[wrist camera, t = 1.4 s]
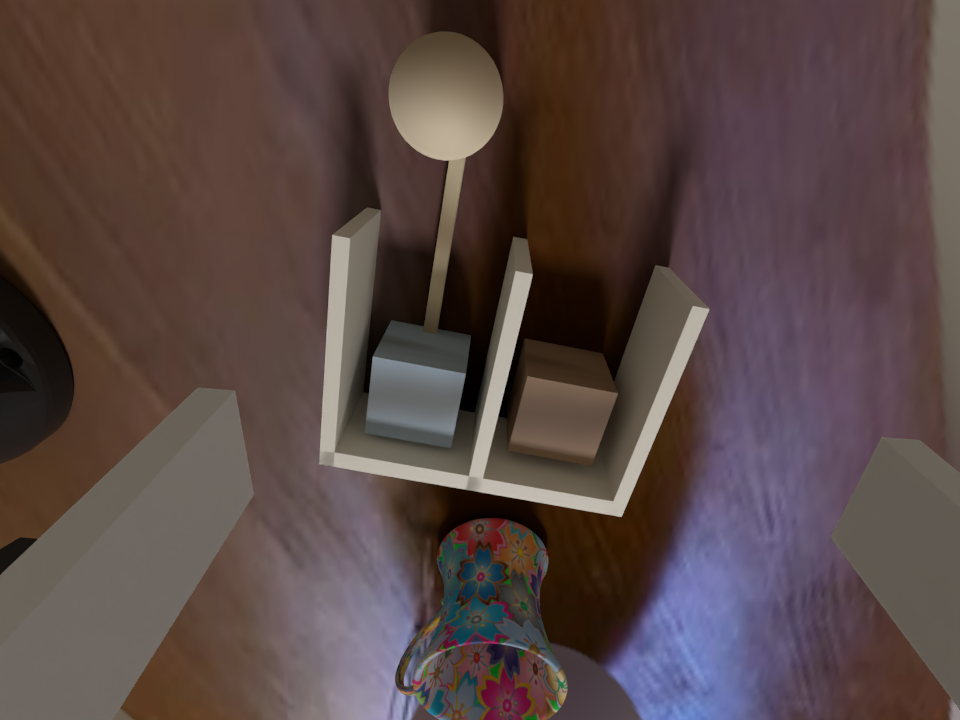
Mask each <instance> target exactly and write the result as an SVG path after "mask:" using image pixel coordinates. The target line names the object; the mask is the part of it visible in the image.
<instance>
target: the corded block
mask: <svg viewBox="0 0 960 720" xmlns="http://www.w3.org/2000/svg"><path fill="white" fill-rule="evenodd" d="M389 105H390V110H391V114H392V117H393V120H394V122H395V124H396V127H397V129H398V130H399V132H400V134H401V135H402V136H403V138H404V139H405V140H406V141H407V142H408V143H409V144H410V145H411V146H412V147H413V148H414V149H416V150H417V151H418V152H420V153H422V154H423V155H426V156H428V157H430V158H434V159H438V160H449V164H448V171H447V178H446V184H445V191H444V197H443V204H442V211H441V217H440V224H439V230H438V237H437V244H436V250H435V257H434V263H433V270H432V277H431V283H430V290H429V296H428V303H427V310H426V316H425V323H424V326H420V325H414V324H409V323H404V322H398V321H393V320H391V322H390V324H389V326H388V328H387V329H386V331H385V333H384V335H383V337H382V339H381V341H380V343H379V345H378V347H377V349H376V351H375V353H374V355H373V359H372V369H371V379H370V388H369V398H368V407H367V417H366V426H365V433H368V434H373V435H379V436H384V437H390V438H396V439H401V440H407V441H412V442H418V443H424V444H429V445H435V446H440V447H446V448H451V445H452V440H453V435H454V430H455V425H456V420H457V415H458V410H459V406H460V401H461V396H462V391H463V386H464V381H465V376H466V369H467V362H468V355H469V347H470V340H471V335H467V334H462V333H456V332H451V331H446V330H441V329H438V324H439V318H440V312H441V306H442V300H443V294H444V288H445V282H446V276H447V270H448V264H449V258H450V252H451V246H452V240H453V234H454V228H455V222H456V216H457V210H458V203H459V197H460V191H461V185H462V179H463V173H464V167H465V161H466V157H467V156H469V155H472V154H473V153H475V152H477V151H478V150H479V149H481V148H482V147H483V146H484V145H485V144H486V143H487V142H488V141H489V139H490V138H491V137H492V135H493V134H494V132H495V130H496V128H497V126H498V123H499V121H500V118H501V114H502V108H503V87H502V82H501V78H500V75H499V72H498V69H497V67H496V65H495V63H494V61H493V60H492V58H491V57H490V55H489V54H488V53H487V52H486V51H485V49H484V48H483V47H481V46H480V45H479V44H478V43H477V42H475V41H474V40H472V39H471V38H469V37H467V36H464V35H462V34H459V33H455V32H448V31H443V32H434V33H430V34H427V35H424V36H422V37H420V38H418V39H417V40H415V41H414V42H413V43H411V44H410V45H409V46H408V47H407V48H406V49H405V50H404V51H403V53H402V54H401V55H400V57H399V58H398V60H397V62H396V64H395V66H394V69H393V71H392V75H391V78H390V84H389Z"/></svg>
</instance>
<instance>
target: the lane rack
mask: <svg viewBox="0 0 960 720" xmlns="http://www.w3.org/2000/svg"><path fill="white" fill-rule="evenodd" d="M380 218H381V210H378V209H373V208H368V207H367V208H366V209H364V210H363V211H362V212H360V213H359V214H358V215H357V216H355V217H354V218H353V219H352V220H350V221H349V222H348V223H347V224H345V225H344V226H343V227H342V228H340V229H339V230H338V231H337V232H335V233H334V234H333V235H332V248H331V266H330V283H329V301H328V319H327V336H326V354H325V372H324V389H323V407H322V424H321V442H320V460H319V464H322V465H327V466H333V467H339V468H344V469H350V470H356V471H362V472H367V473H373V474H379V475H385V476H390V477H396V478H402V479H407V480H413V481H419V482H425V483H430V484H436V485H442V486H447V487H453V488H459V489H465V490H470V491H476V492H482V493H487V494H493V495H499V496H505V497H510V498H516V499H522V500H528V501H533V502H539V503H545V504H550V505H556V506H562V507H568V508H573V509H579V510H585V511H590V512H596V513H602V514H608V515H613V516H619V517H622V515H623V512H624V510H625V508H626V505H627V503H628V501H629V498H630V496H631V494H632V491H633V489H634V486H635V484H636V482H637V479H638V477H639V475H640V472H641V470H642V468H643V465H644V463H645V460H646V458H647V456H648V453H649V451H650V449H651V446H652V444H653V442H654V439H655V437H656V434H657V432H658V430H659V427H660V425H661V423H662V420H663V418H664V416H665V413H666V411H667V408H668V406H669V404H670V401H671V399H672V397H673V394H674V392H675V390H676V387H677V385H678V382H679V380H680V378H681V375H682V373H683V371H684V368H685V366H686V364H687V361H688V359H689V356H690V354H691V352H692V349H693V347H694V345H695V342H696V340H697V338H698V335H699V333H700V331H701V328H702V326H703V323H704V321H705V319H706V316H707V314H708V312H709V308H708V307H707V306H706V305H705V304H704V303H703V302H702V301H701V300H700V299H699V298H698V297H697V296H696V295H695V294H694V293H693V292H692V291H691V290H690V289H689V288H688V287H687V286H686V285H685V284H684V283H683V282H682V281H681V280H680V278H679V277H678V276H677V275H676V274H675V273H674V272H673V271H672V270H671V269H670V268H668V267H663V266H658V265H655V268H654V270H653V273H652V276H651V279H650V282H649V284H648V287H647V290H646V293H645V296H644V298H643V301H642V304H641V307H640V310H639V313H638V315H637V318H636V321H635V324H634V327H633V329H632V332H631V335H630V338H629V341H628V343H627V346H626V349H625V352H624V355H623V357H622V360H621V363H620V366H619V369H618V371H617V374H616V377H615V380H614V384H615V386H616V389H617V392H618V395H617V398H616V401H615V404H614V406H613V409H612V412H611V414H610V417H609V420H608V423H607V425H606V428H605V431H604V434H603V436H602V439H601V442H600V444H599V447H598V450H597V453H596V455H595V458H594V461H593V464H592V466H589V465H584V464H578V463H573V462H568V461H562V460H557V459H551V458H546V457H540V456H535V455H529V454H524V453H518V452H513V451H508V436H507V418H502V417H498V415H499V411H500V407H501V403H502V399H503V395H504V391H505V386H506V382H507V378H508V374H509V370H510V366H511V362H512V358H513V354H514V350H515V346H516V342H517V338H518V333H519V329H520V325H521V321H522V317H523V313H524V309H525V305H526V301H527V297H528V293H529V289H530V285H531V281H532V276H533V271H532V265H531V259H530V253H529V248H528V242H527V239H523V238H518V237H513V240H512V245H511V249H510V254H509V258H508V263H507V267H506V272H505V276H504V281H503V286H502V290H501V295H500V299H499V304H498V308H497V313H496V317H495V322H494V327H493V331H492V336H491V340H490V345H489V349H488V354H487V358H486V363H485V368H484V372H483V377H482V381H481V386H480V390H479V395H478V399H477V404H476V409H475V412H469V411H464V410H458V415H457V420H456V425H455V430H454V435H453V440H452V445H451V448H446V447H440V446H435V445H429V444H424V443H418V442H412V441H407V440H401V439H396V438H390V437H384V436H379V435H373V434H368V433H365V426H366V417H367V407H368V398H369V393H365V392H363V391H364V381H365V371H366V360H367V350H368V340H369V330H370V320H371V310H372V300H373V289H374V279H375V269H376V259H377V249H378V239H379V229H380Z"/></svg>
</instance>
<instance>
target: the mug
mask: <svg viewBox="0 0 960 720" xmlns="http://www.w3.org/2000/svg"><path fill="white" fill-rule="evenodd" d="M437 562H438V567H439V570H440V572H441V574H442V577H443V581H444V598H442V599H441V603H442V604H443V609H442V610H441V611H440V612H439V613H437V614H436V615H435V616H434V617H433V618H432V619H431V620H430V621H429V622H428V623H427V624H426V625H425V626H424V627H423V628H422V629H421V630H420V631H419V632H418V634H417V635H416V636H415V638H414V639H413V640H412V642H411V643H410V645H409V646H408V648H407V649H406V651H405V653H404V655H403V656H402V658H401V660H400V663H399V665H398V668H397V671H396V676H395V683H396V686H397V688H398V690H399V691H400V692H401V693H403V694H404V695H407V696H415V695H416V697H417V699H418V701H419V702H420V704H421V705H422V706H423V707H424V708H425V709H426V710H427V711H428V712H429V713H430V714H432V715H433V716H435V717H436V718H438V719H439V720H547V719H548V718H550V717H551V716H552V715H553V714H555V713H556V712H557V711H558V710H559V709H560V707H561V706H562V704H563V702H564V700H565V698H566V694H567V679H566V676H565V673H564V671H563V669H562V667H561V666H560V664H559V662H558V660H557V658H556V657H555V655H554V653H553V651H552V648H551V646H550V644H549V641H548V639H547V636H546V633H545V630H544V627H543V623H542V618H541V613H540V604H539V595H540V586H541V582H542V580H543V578H544V576H545V574H546V571H547V567H548V554H547V551H546V548H545V546H544V544H543V542H542V541H541V539H540V538H539V537H538V536H537V535H536V534H535V533H534V532H532V531H531V530H530V529H528V528H527V527H525V526H523V525H521V524H519V523H517V522H514V521H510V520H506V519H501V518H482V519H476V520H472V521H469V522H466V523H464V524H461V525H460V526H458V527H456V528H455V529H453V530H452V531H451V532H450V533H448V534H447V536H446V537H445V538H444V539H443V541H442V543H441V545H440V547H439V550H438V555H437ZM436 627H437V629H436V631H435V634H434V636H433V638H432V640H431V642H430V644H429V646H428V648H427V649H426V651H425V653H424V654H423V656H422V657H421V659H420V660H419V662H418V664H417V665H416V668H415V670H414V674H413V681H412V682H413V686H410V687H406V686H404V675H405V672H406V669H407V667H408V665H409V663H410V661H411V659H412V657H413V656H414V654H415V652H416V651H417V649H418V648H419V646H420V645H421V644H422V642H423V641H424V640H425V639H426V637H427V636H428V635H429V634H430V633H431V632H432V631H433V630H434V629H435V628H436Z"/></svg>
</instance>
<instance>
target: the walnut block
mask: <svg viewBox="0 0 960 720" xmlns="http://www.w3.org/2000/svg"><path fill="white" fill-rule="evenodd" d="M617 395H618V392H617V389H616V386H615V384H614V381H613V379H612V376H611V374H610V371H609V368H608V366H607V363H606V361H605V358H604V356H603V353H598V352H593V351H588V350H583V349H577V348H572V347H567V346H562V345H557V344H551V343H546V342H541V341H536V340H531V339H525V338H524V342H523V346H522V350H521V354H520V357H519V361H518V365H517V369H516V373H515V377H514V381H513V385H512V389H511V393H510V397H509V401H508V404H507V436H508V451H513V452H518V453H524V454H529V455H535V456H540V457H546V458H551V459H557V460H562V461H568V462H573V463H578V464H584V465H589V466H592V464H593V461H594V458H595V455H596V453H597V450H598V447H599V444H600V442H601V439H602V436H603V434H604V431H605V428H606V425H607V423H608V420H609V417H610V414H611V412H612V409H613V406H614V404H615V401H616V398H617Z"/></svg>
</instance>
